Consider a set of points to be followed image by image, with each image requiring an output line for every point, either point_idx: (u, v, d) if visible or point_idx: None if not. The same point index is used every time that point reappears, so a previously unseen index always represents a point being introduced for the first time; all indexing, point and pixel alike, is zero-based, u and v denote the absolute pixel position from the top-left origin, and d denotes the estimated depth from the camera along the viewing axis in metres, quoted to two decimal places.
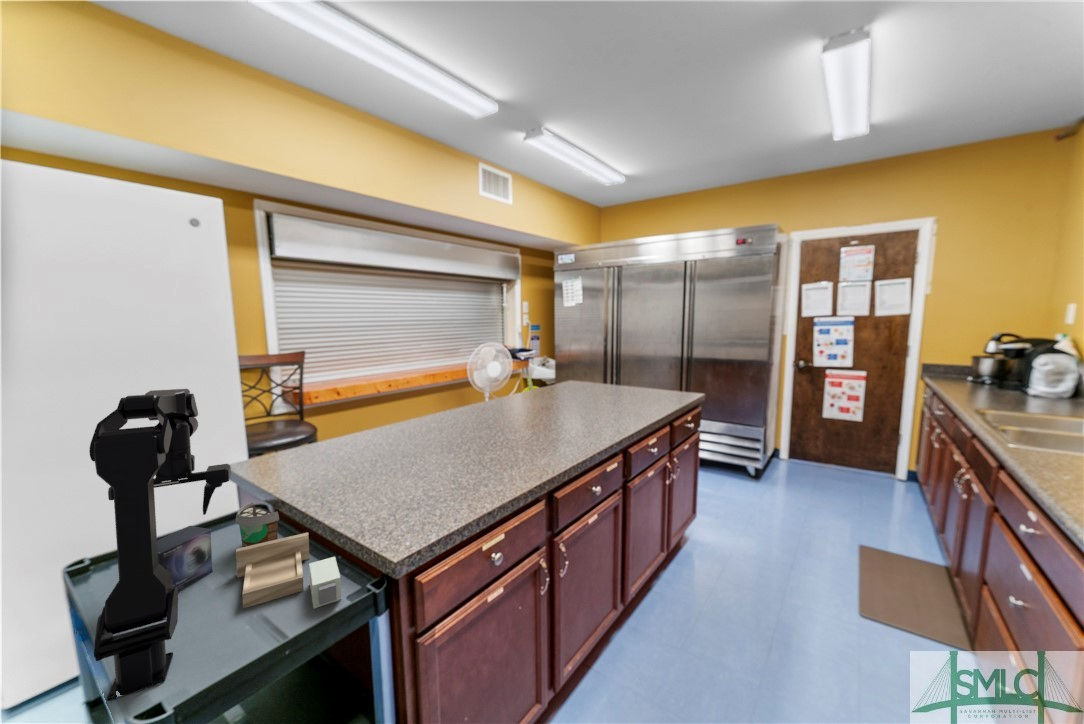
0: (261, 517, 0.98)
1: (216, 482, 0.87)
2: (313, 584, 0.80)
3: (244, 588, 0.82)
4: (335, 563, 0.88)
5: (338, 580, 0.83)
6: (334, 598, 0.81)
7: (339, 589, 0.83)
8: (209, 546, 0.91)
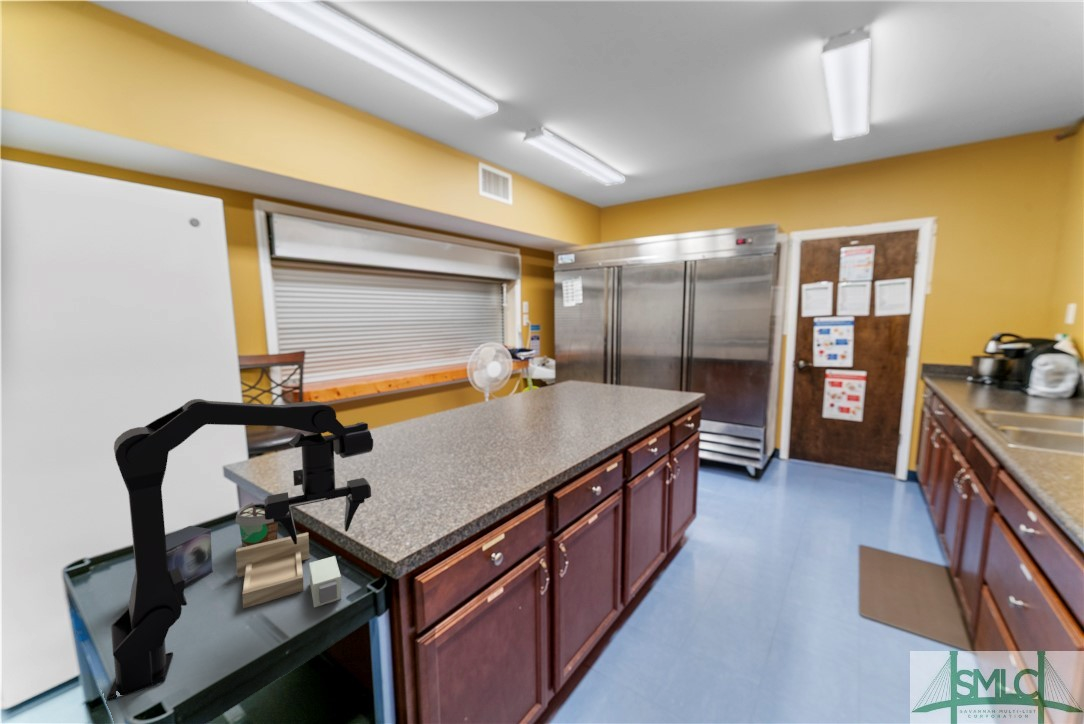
0: (261, 517, 0.98)
1: (360, 498, 0.84)
2: (314, 583, 0.81)
3: (244, 588, 0.82)
4: (335, 562, 0.88)
5: (339, 579, 0.83)
6: (335, 597, 0.81)
7: (339, 588, 0.83)
8: (209, 546, 0.91)
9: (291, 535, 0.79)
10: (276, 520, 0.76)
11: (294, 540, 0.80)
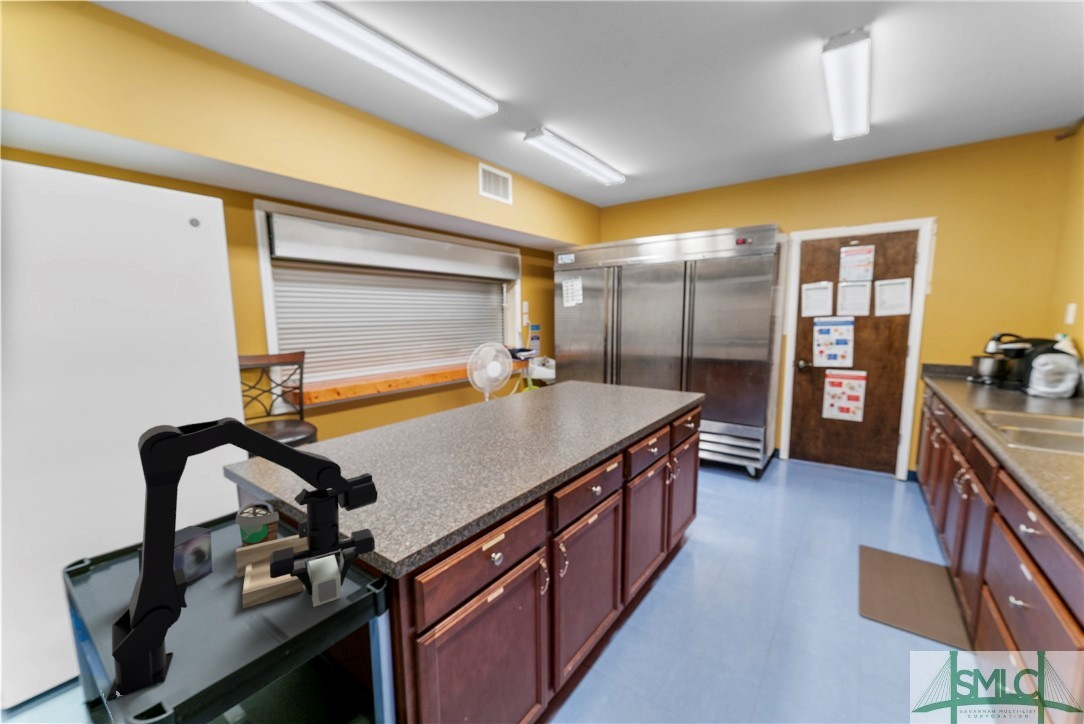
0: (262, 517, 0.98)
1: (364, 551, 0.85)
2: (313, 582, 0.81)
3: (244, 588, 0.82)
4: (334, 561, 0.88)
5: (338, 578, 0.83)
6: (334, 595, 0.81)
7: (339, 587, 0.83)
8: (209, 546, 0.91)
9: (307, 588, 0.81)
10: (293, 575, 0.78)
11: (309, 592, 0.82)
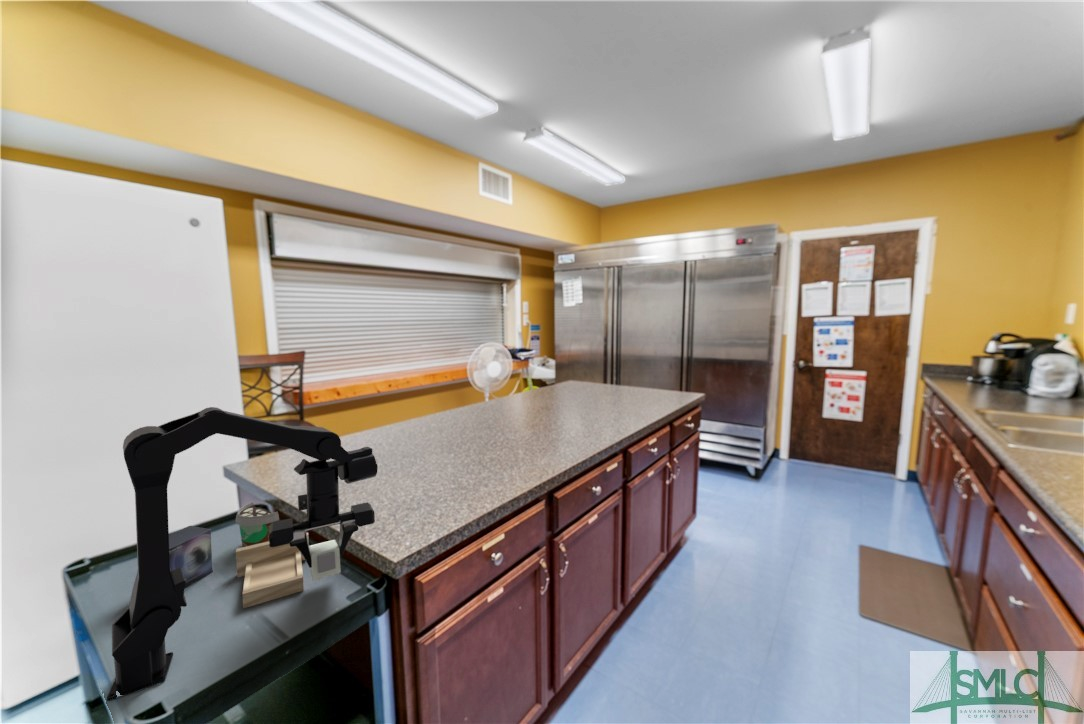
0: (261, 517, 0.98)
1: (364, 524, 0.84)
2: (312, 554, 0.81)
3: (244, 588, 0.82)
4: (334, 542, 0.88)
5: (337, 550, 0.83)
6: (333, 567, 0.81)
7: (338, 560, 0.83)
8: (209, 546, 0.91)
9: (306, 559, 0.80)
10: (292, 545, 0.78)
11: (309, 563, 0.81)
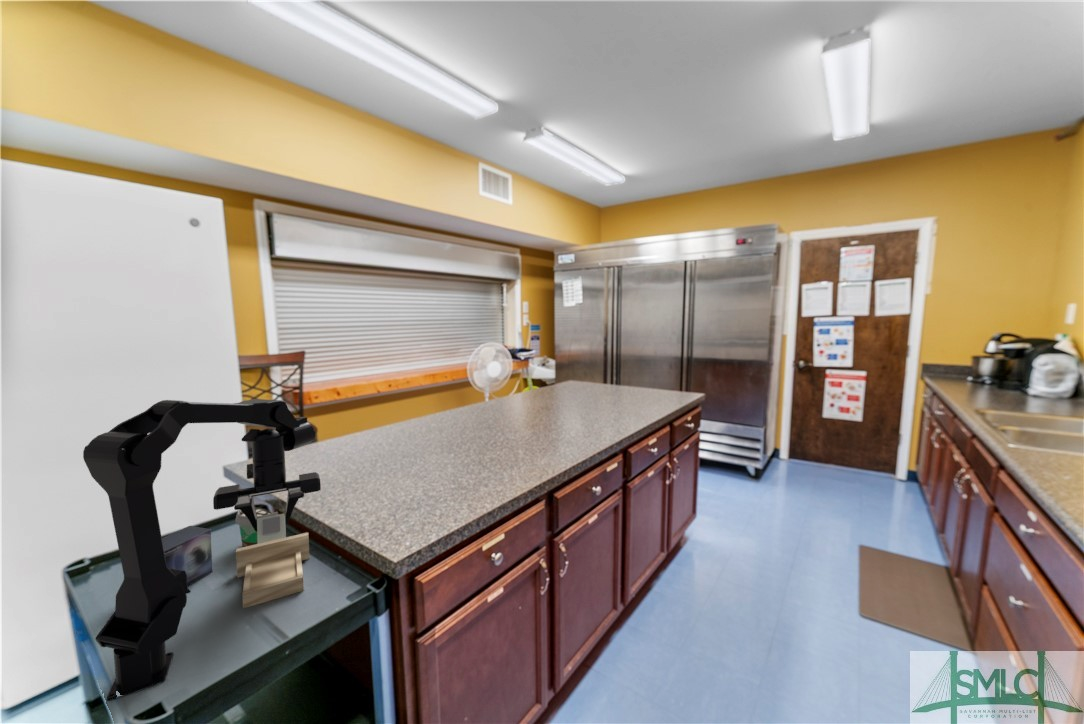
0: (261, 517, 0.98)
1: (310, 491, 0.88)
2: (258, 518, 0.85)
3: (244, 588, 0.82)
4: None
5: (283, 516, 0.87)
6: (278, 530, 0.85)
7: (284, 525, 0.87)
8: (209, 546, 0.91)
9: (252, 523, 0.84)
10: (236, 508, 0.82)
11: (255, 527, 0.85)
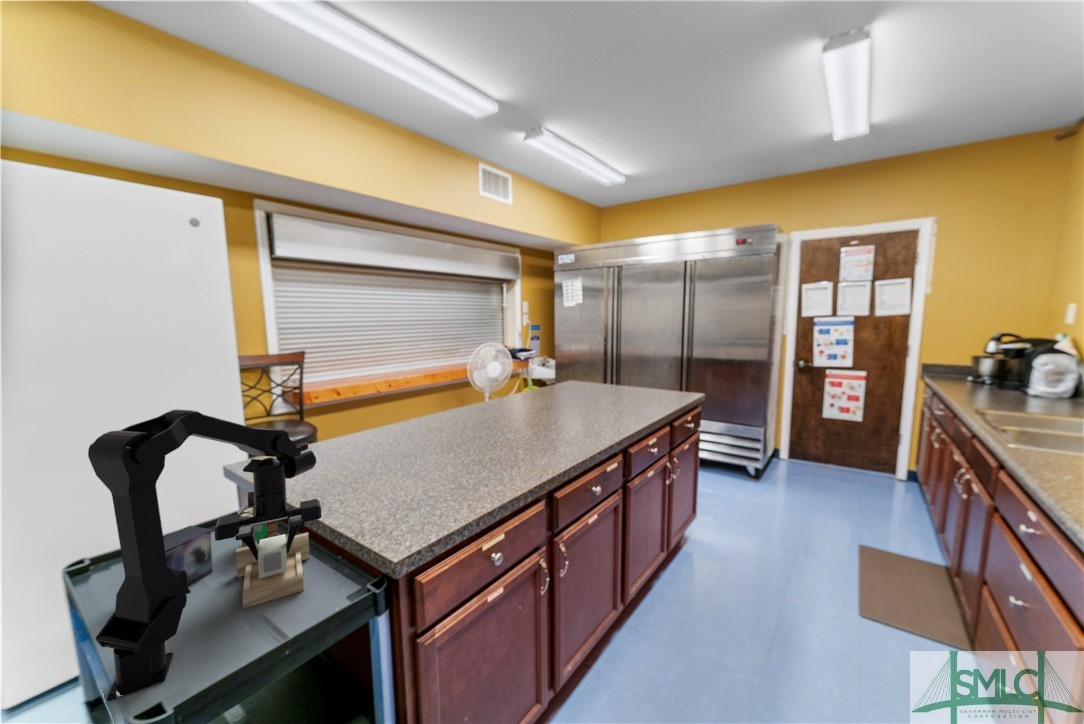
0: None
1: (310, 519, 0.89)
2: (259, 553, 0.85)
3: (244, 588, 0.82)
4: (284, 538, 0.92)
5: (284, 551, 0.87)
6: (279, 567, 0.85)
7: (285, 560, 0.87)
8: (209, 546, 0.91)
9: (253, 552, 0.85)
10: (238, 538, 0.82)
11: (256, 556, 0.86)
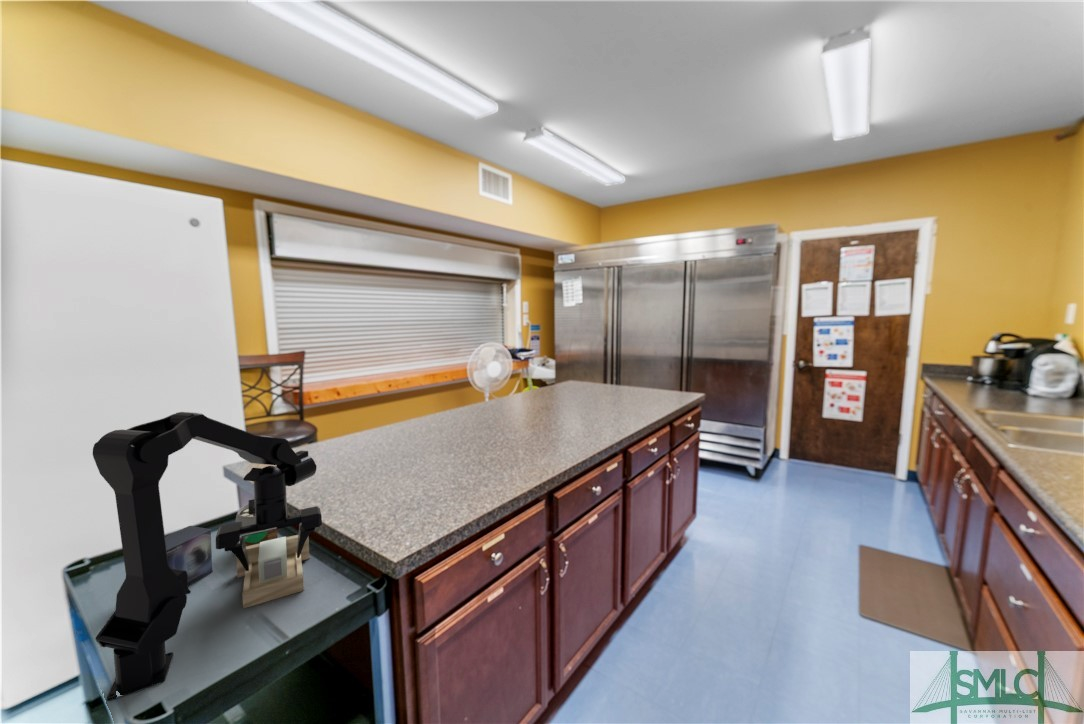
0: None
1: (311, 527, 0.89)
2: (259, 560, 0.85)
3: (244, 588, 0.82)
4: (284, 542, 0.92)
5: (284, 557, 0.87)
6: (279, 574, 0.85)
7: (285, 565, 0.87)
8: (209, 546, 0.91)
9: (242, 563, 0.84)
10: (227, 549, 0.81)
11: (246, 567, 0.85)
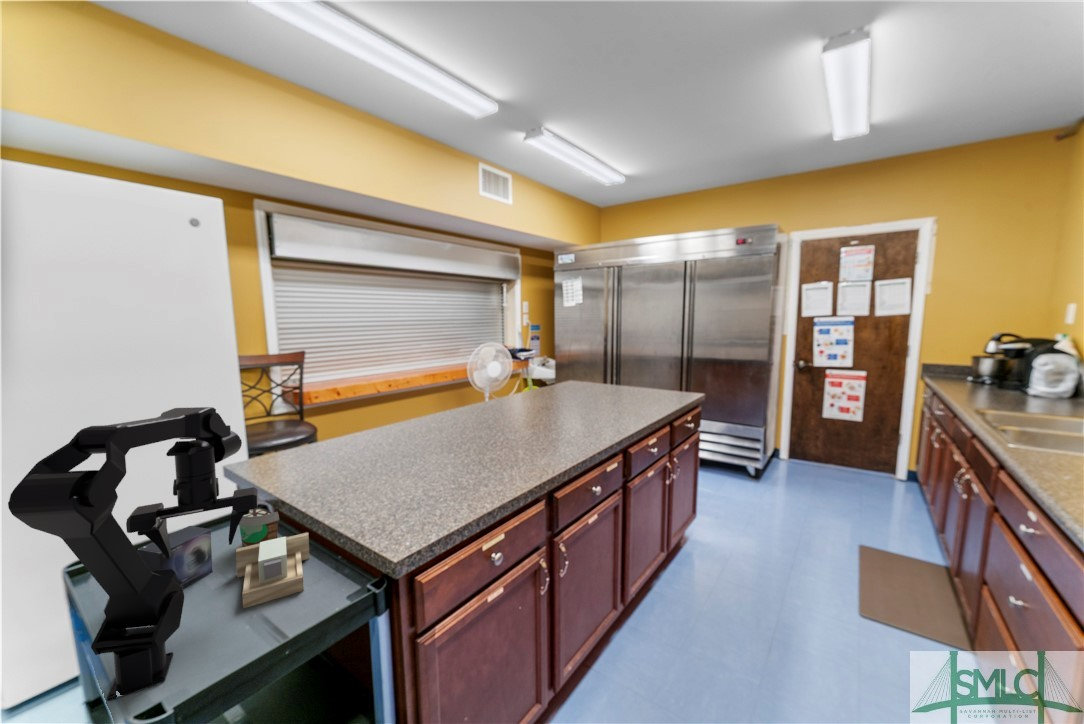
0: (261, 517, 0.98)
1: (244, 509, 0.79)
2: (259, 560, 0.85)
3: (244, 588, 0.82)
4: (284, 542, 0.92)
5: (284, 557, 0.87)
6: (279, 574, 0.85)
7: (285, 565, 0.87)
8: (209, 546, 0.91)
9: (161, 549, 0.74)
10: (140, 533, 0.71)
11: (166, 554, 0.75)
